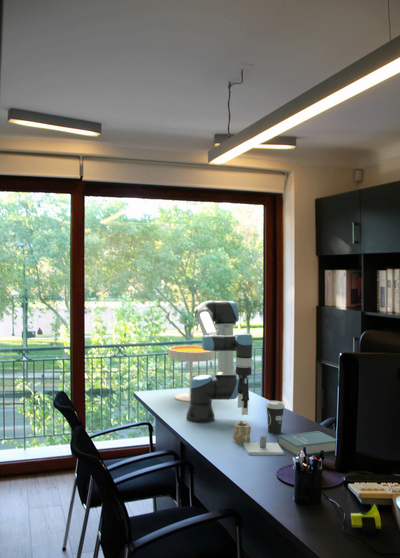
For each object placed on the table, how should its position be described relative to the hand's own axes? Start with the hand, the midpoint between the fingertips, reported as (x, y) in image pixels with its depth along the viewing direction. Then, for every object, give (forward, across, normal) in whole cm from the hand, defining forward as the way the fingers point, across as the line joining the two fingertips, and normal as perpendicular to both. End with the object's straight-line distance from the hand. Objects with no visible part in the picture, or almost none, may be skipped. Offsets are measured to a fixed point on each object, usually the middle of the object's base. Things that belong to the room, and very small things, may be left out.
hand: (242, 410), depth 255 cm
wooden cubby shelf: (+15, 0, 0) cm, 15 cm away
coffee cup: (+15, +15, -19) cm, 29 cm away
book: (+15, -8, -30) cm, 34 cm away
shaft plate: (+15, -12, -8) cm, 20 cm away
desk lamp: (+14, +85, +20) cm, 89 cm away
